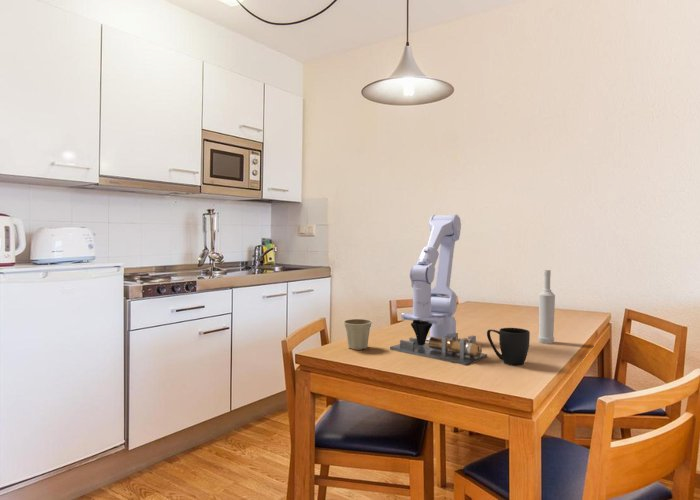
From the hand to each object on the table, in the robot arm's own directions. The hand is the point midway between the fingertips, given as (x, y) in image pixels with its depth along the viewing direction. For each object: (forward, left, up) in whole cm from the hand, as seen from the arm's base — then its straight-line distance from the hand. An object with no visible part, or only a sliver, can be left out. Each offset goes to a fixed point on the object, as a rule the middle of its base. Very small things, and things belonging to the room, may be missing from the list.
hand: (421, 344), depth 149 cm
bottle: (-39, +25, -2) cm, 47 cm away
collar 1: (0, +10, -2) cm, 11 cm away
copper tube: (0, +12, -1) cm, 12 cm away
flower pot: (+12, -17, -2) cm, 21 cm away
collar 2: (0, +16, -2) cm, 16 cm away
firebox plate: (0, +6, -2) cm, 6 cm away
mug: (-5, +26, -2) cm, 27 cm away
